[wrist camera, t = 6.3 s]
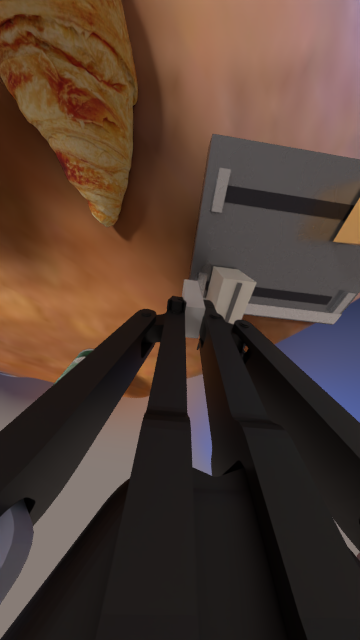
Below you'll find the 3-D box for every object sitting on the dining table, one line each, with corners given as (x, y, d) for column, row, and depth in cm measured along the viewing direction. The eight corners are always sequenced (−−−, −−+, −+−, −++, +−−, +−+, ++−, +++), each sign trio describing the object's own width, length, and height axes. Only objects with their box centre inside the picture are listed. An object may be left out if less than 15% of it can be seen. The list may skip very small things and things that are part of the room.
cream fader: (204, 304, 19) (210, 325, 15) (213, 266, 17) (224, 279, 12) (226, 306, 20) (238, 329, 15) (238, 269, 17) (257, 283, 13)
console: (185, 301, 22) (185, 309, 20) (208, 146, 13) (214, 129, 11) (321, 317, 23) (335, 326, 21) (423, 182, 14) (467, 174, 12)
